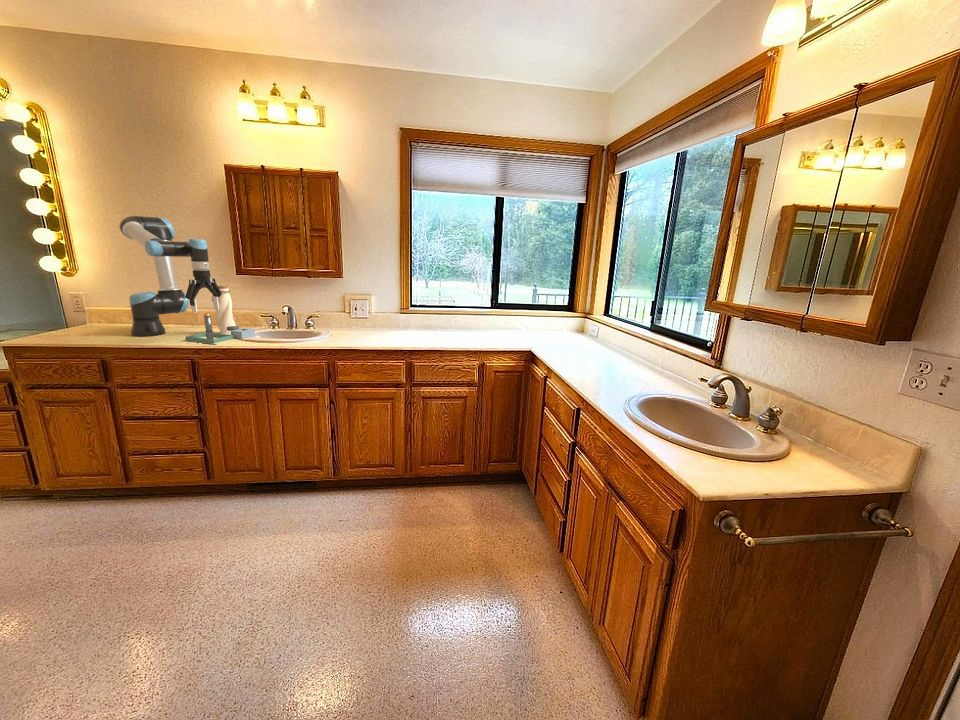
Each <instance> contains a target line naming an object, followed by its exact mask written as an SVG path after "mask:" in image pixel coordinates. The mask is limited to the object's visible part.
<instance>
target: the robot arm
mask: <svg viewBox="0 0 960 720" xmlns="http://www.w3.org/2000/svg"><path fill="white" fill-rule="evenodd" d="M119 230H120V232H121V234H122V235H124V236H125V238H128V239H130V240H134V241H136V242H137V243H138V244H140V245H142V246H143V247H144V249H145V252H146V254H147V255H148V256H150V257H152V258H153V262H154V266H155V271H156V276H157V281H158V284H159V285H158V286H159V289H157V293H156V292H155V291H141V292H136V293H132V294H130V295H129V306H130V310H131V311H130V312H131V317H132V321H133V322H132V326H131V330H130V334H131V336H133V337H153V336H161V335H165V334H166V329H165V327H164V325H163V324H162V321H161V320H160V319H161V318H160V315H170V314H172V315H173V314H179V313H184V312H185V313H186V312H187V310H188V309H189V306H190V307H191V312H192V313H198V312H199V311H198V303H197V299H196V297H197V296H198V294H199V292H200V290H201V289H205V288H206V289H207V290H208V291H209V292H210V293H211V294H212V296H213V295H214V296H215V297H213V302H212V304H213V309H219V297H220V295H222V293H221V291H220V289H219V288H218V286H219V285H218V284H217V282H216V279H215V278H211V276H212V275H211V271H210V269H211V268H210V261H209V252H208V251H209V248H208V243H207V241H206V240H205V239H201V238H200V239H199V238H189V239H188V241H173V240H174V239H175V234H176V233H175V229H174V226H173V225H172V222H170V221H169V220H168V219H166V218H165V217H164V218H163V217H158V216H157V217H155V216H154V217H153V216H141V215H139V216H138V215H130V216H127V217H124V218H123V219H122V220H121V221H120V223H119ZM173 257H174V258H175V257H176V258H177V257H178V258H179V257H181V258H184V257H185V258H190V261H191V269H193V270H192V277H193V278H194V279H188V286H187V290H186V292H183V288H180V287H179V286H178V280H177V274H176V271H175V267H174V260H173Z"/></svg>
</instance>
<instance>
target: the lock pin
mask: <svg viewBox="0 0 960 720" xmlns="http://www.w3.org/2000/svg"><path fill="white" fill-rule="evenodd" d="M203 319H204V327H205V332H206V335H207V336H206V339H215V337H213V333H214V331H213V325H212V323H213V322H212V316H211V313H207V312H205V313H203Z"/></svg>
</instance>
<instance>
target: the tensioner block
mask: <svg viewBox="0 0 960 720" xmlns="http://www.w3.org/2000/svg"><path fill="white" fill-rule="evenodd" d="M227 330H228V331H231V333H230V335H233V337H234V339H238V340H245V339H248V338H253V337H256V332H255V331H256V330H255V328H251V327H250V328H247V327H242V328H240V326H238V325H236V326H228V327H227Z"/></svg>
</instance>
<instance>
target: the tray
mask: <svg viewBox="0 0 960 720" xmlns="http://www.w3.org/2000/svg"><path fill="white" fill-rule="evenodd" d="M204 337H206V338H204ZM213 338H214V339H207V335H206V331H204V332H200V333H197V334H195V333H194V334H192V335H191V334H190V335H187V336H185V337H184V339H185V341H189V342H197V343H196V344H199V343H202V344H201V345H209V346H217V345H218V344H217V343H222V342H225V341H230V340H234V339H235V338H234V337H233V335H231V334H229V333H228V334H223V333H218V332H213ZM189 342H188V343H189Z"/></svg>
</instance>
